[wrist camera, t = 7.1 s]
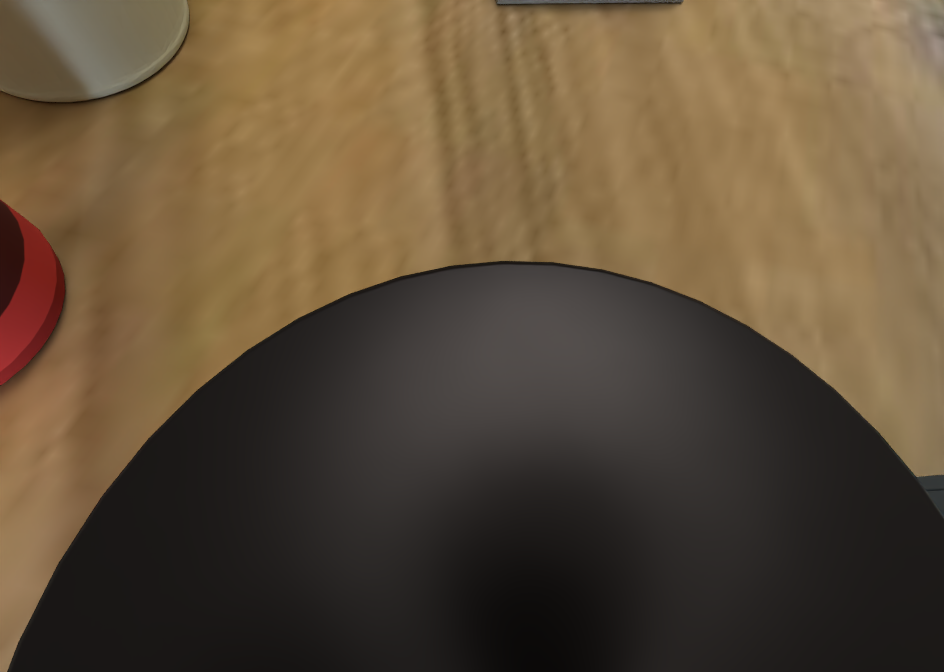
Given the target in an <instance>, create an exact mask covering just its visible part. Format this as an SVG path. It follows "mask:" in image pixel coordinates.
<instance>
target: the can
mask: <svg viewBox="0 0 944 672" xmlns="http://www.w3.org/2000/svg"><path fill="white" fill-rule="evenodd" d="M188 25H189V7H188V2H187V0H0V90H1V91H3V92H6V93H8V94H11V95H13V96H17V97H20V98H24V99H29V100H36V101H43V102H75V101H84V100H90V99H95V98H100V97H104V96H108V95H111V94H114V93H117V92H120V91H123V90H125V89H127V88H130V87H132V86H134V85H136V84H138V83H140V82H142V81H143V80H145V79H147V78H148V77H150V76H152V75H153V74H154V73H156V72H157V71H158V70H160V69H161V68H162V67H163V66H164V65H165V64H166V63H167V62H168V61H169V60H170V59H171V58H172V57H173V56H174V54H175V53H176V52H177V50H178V49H179V48H180V46H181V44H182V42H183V40H184V38H185V35H186V33H187V29H188Z"/></svg>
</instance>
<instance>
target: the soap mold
mask: <svg viewBox="0 0 944 672" xmlns="http://www.w3.org/2000/svg"><path fill="white" fill-rule="evenodd" d="M496 2H497V4H526V3H647V2H683V0H496Z"/></svg>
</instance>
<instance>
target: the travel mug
mask: <svg viewBox="0 0 944 672" xmlns="http://www.w3.org/2000/svg"><path fill="white" fill-rule="evenodd" d="M7 672H944V516H943V514H942V513H941V511H940V510H939V508H938V507H937V506H936V504H935V503H934V501H933V500H932V498H931V497H930V495H929V494H928V493H927V491H926V490H925V488H924V487H923V485H922V484H921V482H920V481H919V480H918V479H917V478H916V476H915V475H914V474H913V473H912V472H911V470H910V469H909V468H908V467H907V466H906V464H905V463H904V462H903V461H902V460H901V458H900V457H899V456H898V455H897V454H896V453H895V451H894V450H893V449H892V448H891V447H890V445H889V444H888V443H887V442H886V441H885V439H884V438H883V437H882V436H881V435H880V433H879V432H878V431H877V430H876V429H875V428H874V427H872V426H871V425H870V424H869V423H868V422H867V421H866V420H865V419H864V418H863V417H862V416H861V415H860V414H859V413H858V412H857V411H856V410H855V409H854V408H853V407H852V406H851V405H850V404H849V403H848V402H847V401H846V400H845V399H844V398H843V397H842V396H841V395H840V394H839V393H838V392H837V391H836V390H835V389H833V388H832V387H831V386H830V385H828V384H827V383H826V382H825V381H824V380H822V379H821V378H820V377H819V376H817V375H816V374H815V373H814V372H812V371H811V370H810V369H809V368H807V367H806V366H805V365H804V364H803V363H801V362H800V361H799V360H798V359H796V358H795V357H794V356H793V355H791V354H790V353H788V352H787V351H785V350H784V349H782V348H781V347H779V346H778V345H776V344H774V343H773V342H771V341H770V340H768V339H767V338H765V337H764V336H762V335H761V334H759V333H758V332H756V331H755V330H753V329H752V328H750V327H749V326H747V325H745V324H743V323H741V322H739V321H737V320H736V319H734V318H732V317H730V316H728V315H726V314H724V313H722V312H720V311H718V310H716V309H714V308H712V307H710V306H708V305H706V304H704V303H703V302H701V301H698V300H696V299H693V298H691V297H688V296H685V295H683V294H680V293H678V292H675V291H672V290H670V289H667V288H665V287H662V286H660V285H657V284H654V283H652V282H648V281H644V280H640V279H637V278H633V277H629V276H625V275H621V274H618V273H614V272H610V271H606V270H602V269H595V268H588V267H582V266H575V265H568V264H561V263H554V262H520V261H498V262H487V263H476V264H465V265H454V266H448V267H443V268H439V269H434V270H429V271H425V272H420V273H415V274H410V275H406V276H401V277H398V278H395V279H392V280H389V281H386V282H383V283H380V284H377V285H374V286H371V287H369V288H366V289H363V290H360V291H357V292H354V293H351V294H348V295H346V296H344V297H342V298H340V299H338V300H336V301H334V302H332V303H329V304H327V305H325V306H323V307H321V308H319V309H317V310H315V311H313V312H311V313H308V314H306V315H304V316H302V317H300V318H298V319H296V320H295V321H293V322H292V323H290V324H288V325H287V326H285V327H284V328H282V329H280V330H279V331H277V332H276V333H274V334H272V335H271V336H269V337H268V338H266V339H264V340H263V341H261V342H260V343H258V344H257V345H255V346H253V347H252V348H250V349H249V350H247V351H246V352H244V353H243V354H242V355H241V356H239V357H238V358H237V359H236V360H234V361H233V362H232V363H231V364H229V365H228V366H227V367H226V368H224V369H223V370H222V371H221V372H219V373H218V374H217V375H216V376H214V377H213V378H212V379H211V380H209V381H208V382H207V383H206V384H204V385H203V386H202V387H201V388H199V389H198V390H197V391H196V392H195V393H194V394H193V395H192V396H191V397H190V398H189V399H188V400H187V401H186V402H185V403H184V404H183V405H182V406H181V407H180V408H179V409H178V410H177V411H176V412H175V413H174V414H173V415H172V416H171V417H170V418H169V419H168V420H167V421H166V422H165V423H164V424H163V425H162V426H161V427H160V428H159V429H158V430H157V431H156V432H155V433H154V434H153V435H152V436H151V437H150V438H149V439H148V440H147V441H146V442H145V444H144V445H143V446H142V447H141V449H140V450H139V451H138V452H137V453H136V455H135V456H134V457H133V458H132V460H131V461H130V462H129V463H128V465H127V466H126V467H125V468H124V470H123V471H122V472H121V473H120V475H119V476H118V477H117V478H116V479H115V481H114V482H113V483H112V484H111V486H110V487H109V488H108V489H107V491H106V492H105V493H104V494H103V496H102V497H101V498H100V500H99V502H98V503H97V505H96V506H95V508H94V509H93V511H92V512H91V514H90V515H89V517H88V519H87V520H86V522H85V523H84V525H83V526H82V528H81V529H80V531H79V533H78V534H77V536H76V537H75V539H74V540H73V542H72V543H71V545H70V546H69V548H68V550H67V551H66V553H65V554H64V556H63V557H62V559H61V560H60V562H59V564H58V565H57V567H56V569H55V571H54V573H53V575H52V577H51V579H50V581H49V583H48V585H47V587H46V589H45V591H44V593H43V595H42V597H41V599H40V601H39V603H38V605H37V607H36V609H35V611H34V613H33V615H32V617H31V619H30V621H29V623H28V625H27V627H26V629H25V631H24V633H23V634H22V636H21V638H20V640H19V642H18V645H17V648H16V650H15V653H14V656H13V658H12V661H11V663H10V666H9V669H8V671H7Z"/></svg>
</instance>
